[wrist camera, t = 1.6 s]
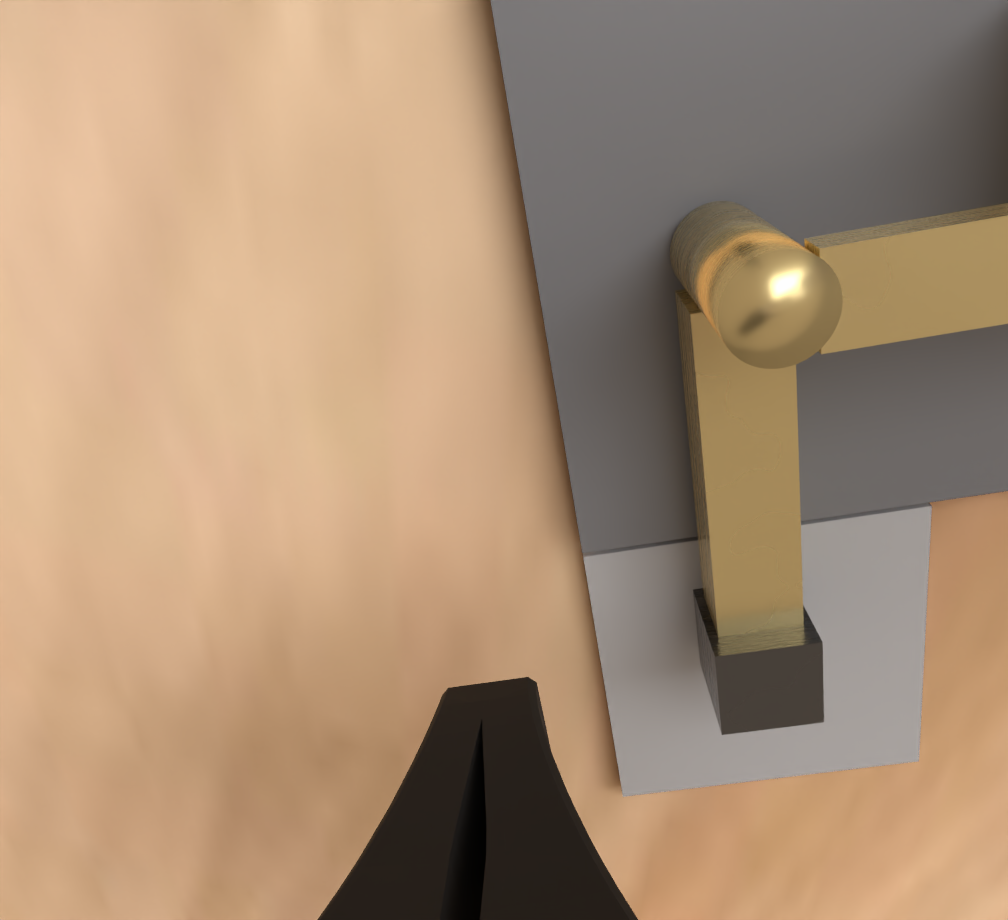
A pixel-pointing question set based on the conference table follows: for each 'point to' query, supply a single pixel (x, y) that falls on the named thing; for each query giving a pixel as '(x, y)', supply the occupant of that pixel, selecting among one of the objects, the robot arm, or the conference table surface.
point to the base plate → (772, 196)
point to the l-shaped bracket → (793, 411)
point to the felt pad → (835, 615)
